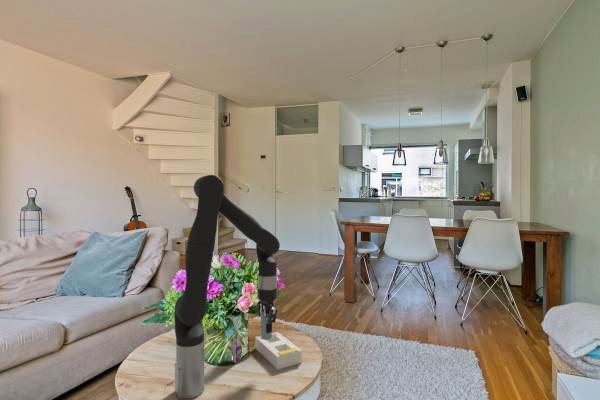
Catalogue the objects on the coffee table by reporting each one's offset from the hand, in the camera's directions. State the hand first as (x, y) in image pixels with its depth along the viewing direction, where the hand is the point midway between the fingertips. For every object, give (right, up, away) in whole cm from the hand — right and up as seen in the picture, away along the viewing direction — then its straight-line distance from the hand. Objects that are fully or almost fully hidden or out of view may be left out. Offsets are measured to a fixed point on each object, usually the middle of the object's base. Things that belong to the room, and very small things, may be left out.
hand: (266, 330), depth 131 cm
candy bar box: (-13, -16, +11) cm, 23 cm away
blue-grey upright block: (0, -3, 0) cm, 3 cm away
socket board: (+3, -15, +12) cm, 20 cm away
